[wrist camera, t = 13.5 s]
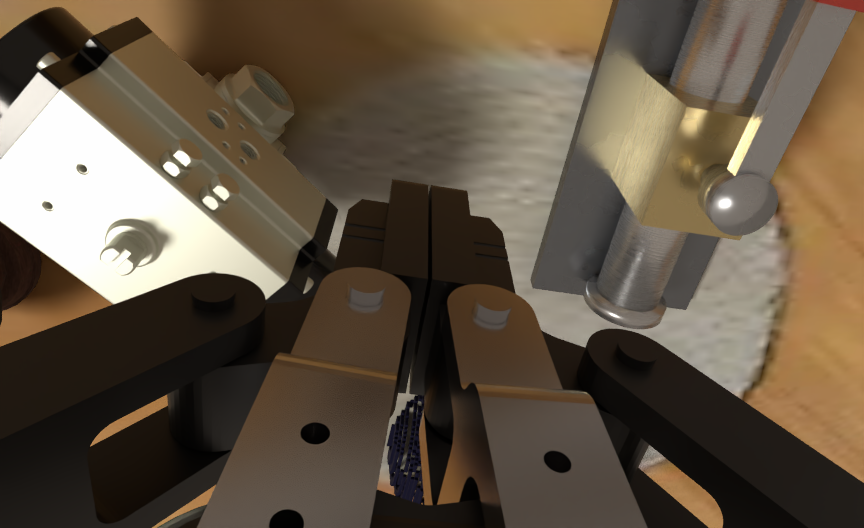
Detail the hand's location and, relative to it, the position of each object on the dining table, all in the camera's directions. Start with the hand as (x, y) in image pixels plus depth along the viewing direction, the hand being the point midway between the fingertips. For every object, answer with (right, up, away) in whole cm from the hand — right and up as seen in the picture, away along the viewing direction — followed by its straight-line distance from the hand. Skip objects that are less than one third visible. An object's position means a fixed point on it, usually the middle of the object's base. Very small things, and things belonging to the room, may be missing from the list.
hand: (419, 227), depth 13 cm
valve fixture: (+16, +8, +29) cm, 34 cm away
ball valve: (-12, +9, +29) cm, 32 cm away
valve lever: (+17, +9, +17) cm, 26 cm away
